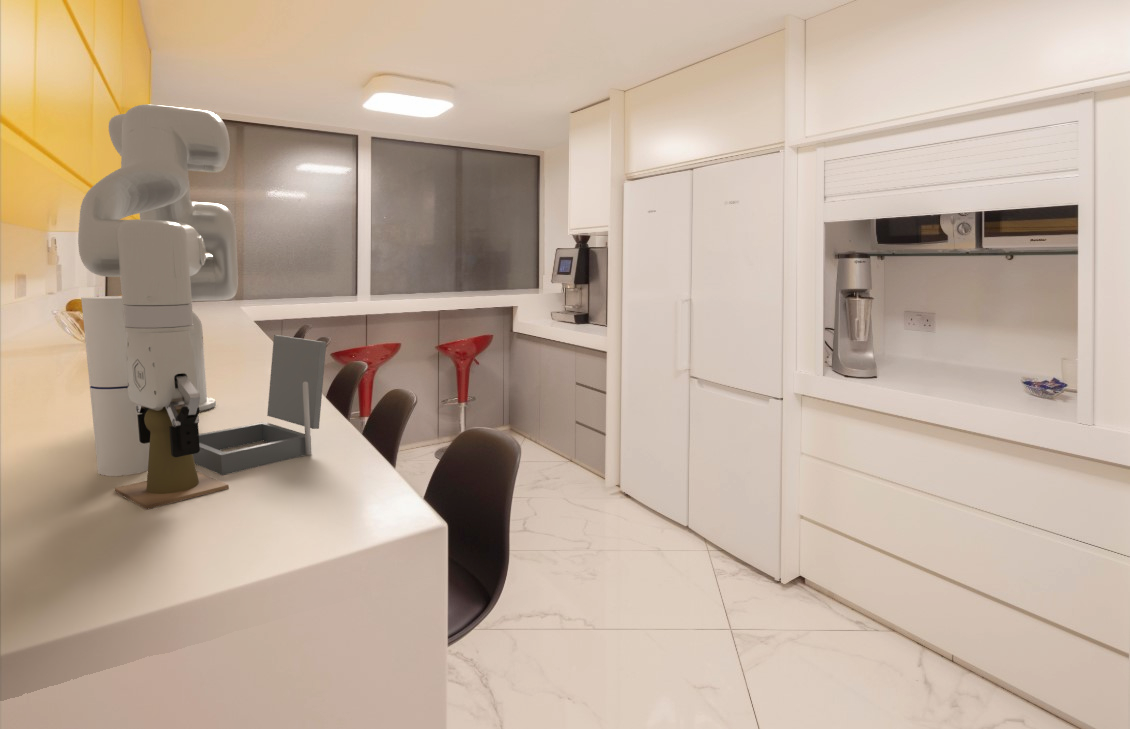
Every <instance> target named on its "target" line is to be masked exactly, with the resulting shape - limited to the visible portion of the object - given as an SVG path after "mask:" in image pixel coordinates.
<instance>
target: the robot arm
mask: <svg viewBox="0 0 1130 729" xmlns="http://www.w3.org/2000/svg"><path fill="white" fill-rule="evenodd" d="M108 132H109V133H108V134H109V137H110V141H111V143H112V145H113V147H114V149H115V150H116V152H117V153H118V154H119V156H120V157H121V160H120V161H121V162H120V168H118V169H117V170H114V171H112V172H110V173H109V174H108V175H106V176H104V177H103V178H101V179H100V180H99V181H98V182H96V183H95V184H94V185H93V186H92V187H91V188H90V189H89V190H88V191H87V192H86V193H85V195H84V197H83V198H82V201H81V205H80V210H79V223H78V238H77V244H78V253H79V254H78V255H79V256H80V260H81V262H82V264H83V266H84V267H85V269H87V270H88V271H89V273H92V274H94V275H97V276H100V277H106V278H107V277H108V278H109V277H110V278H120V288H121V290H120V291H121V296H122V303H123V314H124V325H125V331H127V332H128V338H127V382H128V397H129V399H130V400H131V401H132V402H133V403H135V404H137V405H136V411H137V413H138V415H137V417H138V429H139V441H140V442H141V443H143V444H145V443H150V433H151V432H150V431H149V430H148V429H147V427H146V425H145V421H144V417H145V414H146V412H147V410H148V409H152V410H155V411H160V410H162V409H163V407H166V409H167V412H168V414H169V417H170V419H171V422H172V424H173V426H169V431H170V444H171V455H172V456H173V457H181V456H185V455H190V454H195V453H198V452H199V451H200V445H199V434H200V433H199V423H200V417H199V414H200V412H203V411H207V410H210V409H213V408H215V406H216V404H217V402H216V399H215V398H212V397H208V394H207V393H208V392H207V379H206V363H205V348H204V335H203V324H202V321H201V319H200V317H199V316H198V315H197V313H196V312H194V310H193V302H195V301H196V302H202V301H203V302H204V301H211V302H212V301H214V302H215V301H228V300H231V299H233V298H234V297H235V296H236V294H237V293H238V289H239V269H238V268H239V267H238V266H239V265H238V264H239V263H238V247H237V246H238V245H237V244H238V242H237V230H236V228H237V227H236V222H235V218H234V215H233V213H232V212H231V210H230V209H229V208H228V207H227V206H226V205H223V204H220V203H214V202H202V201H201V202H198V201H192V199H191V189H190V188H191V186H190V184H191V183H190V179H189V171H191V172H192V171H193V172H205V173H221V172H222V171H224V169H225V168H226V166H227V163H228V161H229V158H230V152H231V150H230V148H231V142H230V136H229V132H228V129H227V126H226V124H225V122H224V121H223V119H222V118H221V117H220V116H219V115H218V114H215V113H214V112H212V111H209V110H204V109H203V110H202V109H197V108H196V109H195V108H189V107H187V108H186V107H177V106H171V105H170V106H168V105H163V104H162V105H161V104H150V103H149V104H139V105H135V106H133V107H131V108H130V109H128V110H127V112H125V113H120V114H117V115H114V116H113V117H111V118H110V120H109V122H108ZM138 214H139V219H138V218H137V219H124V218H126V217H131V216H134V215H138ZM178 409H181V410H180V413H179V415H178V413H177V411H176V410H178ZM141 413H142V414H141Z"/></svg>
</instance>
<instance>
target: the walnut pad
mask: <svg viewBox="0 0 1130 729" xmlns="http://www.w3.org/2000/svg"><path fill="white" fill-rule="evenodd" d="M196 471H197V475H198V479H199V484H198V485H197V486H195V487H193V488H191V489H188V490H184V491H180V492H175V493H166V494H156V493H150V492H148V491H147V490H146V488H147V480H143V481H139V482H135V483H130V484H126V485H122V486H117V487H114V492H115V493H117V494H119V495H120V496H122V497H123V498H126V499H127V500H129V501H131V502H133V503H134V504H136V505H138V506H140V507H141V508H143V509H144V510H150V509H153V508H158V507H162V506H166V505H169V504H174V503H177V502H181V501H185V500H188V499H193V498H196V497H200V496H203V495H208V494H213V493H216V492H219V491H222V490H227V489H229V488H230V486H229V484H228V483H226V482H223V481H221V480H219V479H217V478H215V477H212V476H210V475H207V474H205V473H202V472H200V471H198V470H196Z"/></svg>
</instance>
